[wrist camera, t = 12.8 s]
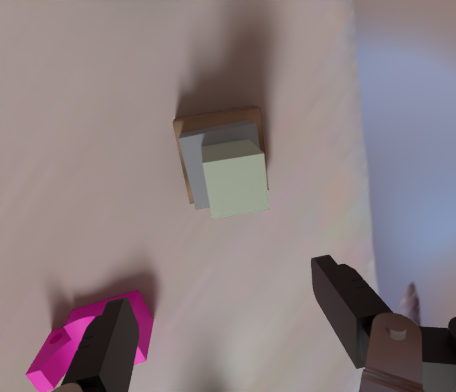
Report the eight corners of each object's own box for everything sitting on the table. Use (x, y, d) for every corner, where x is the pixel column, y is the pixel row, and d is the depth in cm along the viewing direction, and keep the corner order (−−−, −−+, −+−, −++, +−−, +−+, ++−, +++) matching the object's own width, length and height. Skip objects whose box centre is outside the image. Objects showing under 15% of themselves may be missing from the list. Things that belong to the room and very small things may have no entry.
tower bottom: (175, 118, 36) (172, 121, 32) (253, 105, 36) (260, 107, 33) (190, 192, 40) (189, 203, 36) (262, 180, 40) (268, 189, 36)
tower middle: (180, 132, 33) (178, 138, 29) (249, 119, 33) (256, 122, 29) (196, 197, 36) (196, 210, 32) (259, 184, 36) (266, 195, 32)
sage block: (201, 146, 29) (202, 163, 23) (249, 138, 30) (264, 153, 23) (208, 191, 31) (212, 219, 25) (254, 184, 31) (269, 209, 25)
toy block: (138, 289, 44) (127, 327, 37) (153, 319, 46) (146, 361, 39) (44, 317, 44) (15, 361, 37) (63, 347, 46) (39, 393, 39)
